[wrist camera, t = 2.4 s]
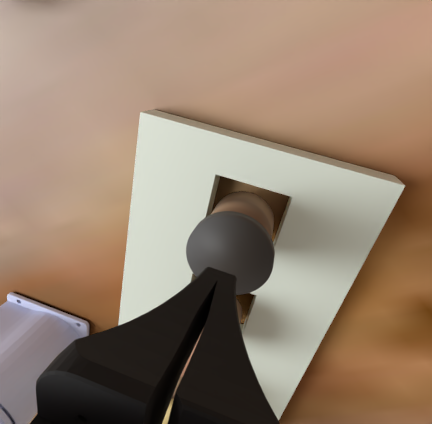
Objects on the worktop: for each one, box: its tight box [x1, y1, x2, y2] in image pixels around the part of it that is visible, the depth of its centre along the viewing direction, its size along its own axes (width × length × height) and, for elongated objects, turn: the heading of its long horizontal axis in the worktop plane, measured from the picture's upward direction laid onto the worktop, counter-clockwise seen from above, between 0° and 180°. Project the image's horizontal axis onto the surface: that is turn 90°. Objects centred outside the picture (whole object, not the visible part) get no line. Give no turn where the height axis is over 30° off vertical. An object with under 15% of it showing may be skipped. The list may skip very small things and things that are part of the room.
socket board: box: [118, 110, 405, 421], centre depth 24 cm, size 16×26×2 cm, turn 167°
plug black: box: [186, 191, 275, 295], centre depth 17 cm, size 5×5×5 cm
